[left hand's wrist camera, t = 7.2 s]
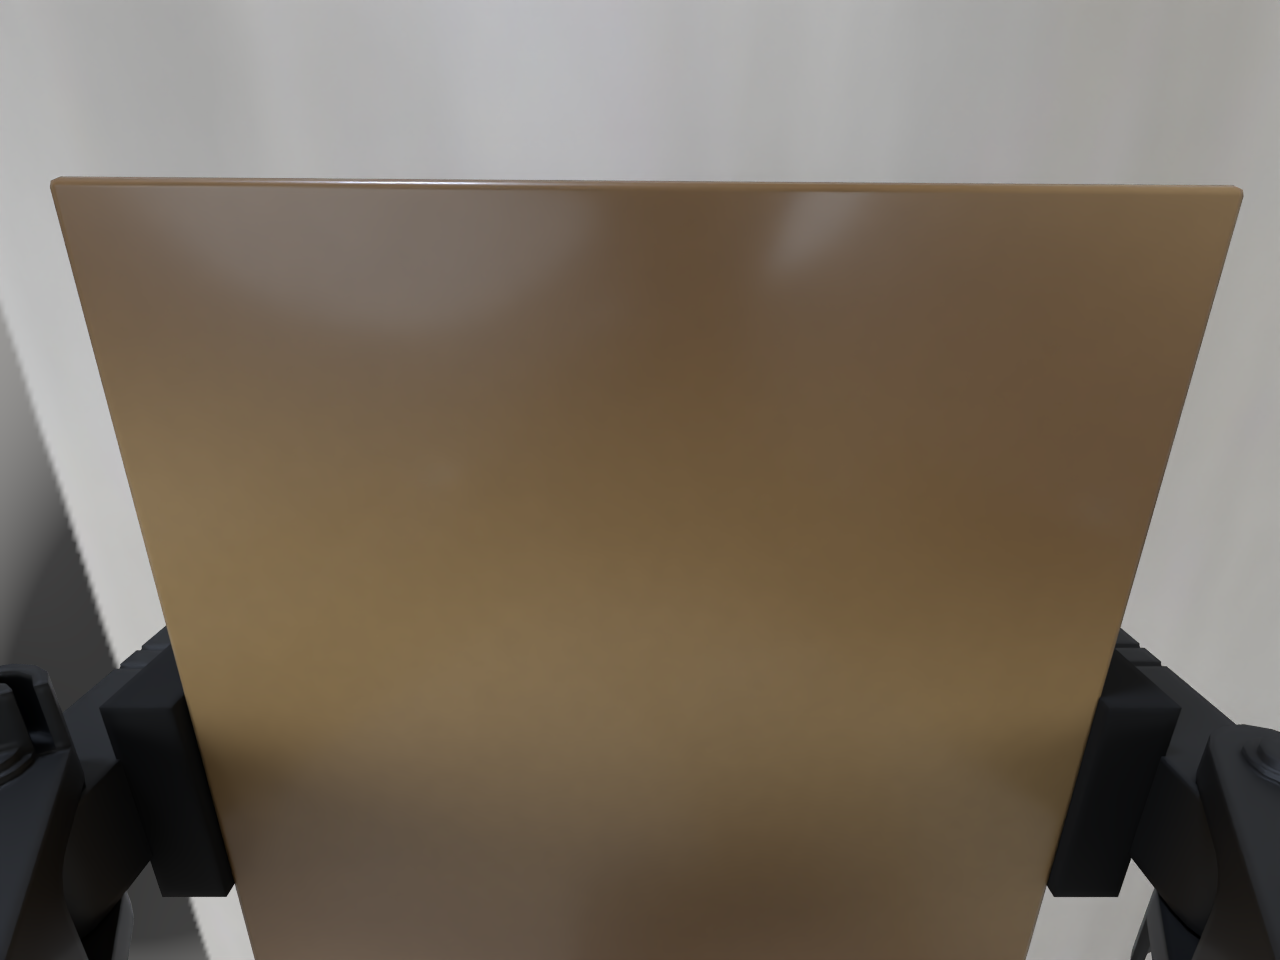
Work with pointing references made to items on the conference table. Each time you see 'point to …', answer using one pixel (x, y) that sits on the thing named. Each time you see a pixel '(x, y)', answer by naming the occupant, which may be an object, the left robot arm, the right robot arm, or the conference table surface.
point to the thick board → (642, 542)
